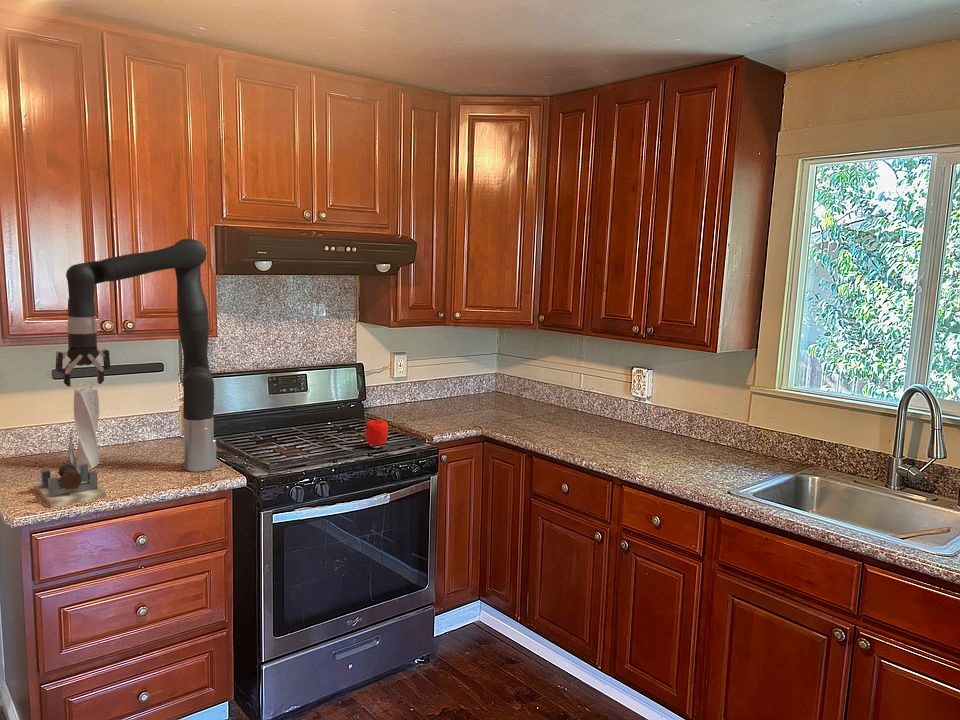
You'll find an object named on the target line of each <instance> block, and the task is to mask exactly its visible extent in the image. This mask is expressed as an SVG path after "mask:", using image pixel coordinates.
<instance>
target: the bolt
mask: <svg viewBox="0 0 960 720" xmlns="http://www.w3.org/2000/svg"><path fill="white" fill-rule="evenodd" d="M57 473H58V475H59V476H60V477H61V478H60V480H59V482H60V483H61V484H62V486H63V487H64V488H65V489H75V488H78V487H79V485H80V484H81V482H82V480H83V477H82V476H81V475H80V474H79V470H77V469H76V467H75V466H74V465H73V464H69V463H63V464H61V466H60V468H59V470H58V471H57Z"/></svg>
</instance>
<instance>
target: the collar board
mask: <svg viewBox="0 0 960 720" xmlns="http://www.w3.org/2000/svg"><path fill="white" fill-rule="evenodd" d="M81 483H85V482H81ZM58 487H61V486H58ZM33 489H34V490H35V491H36V493H38V495H39V496H40V497H41V498H42V500H43V501H44V500H45V501H44V502H45V503H46V504H47V505H48V506H49V508H55V507H63V506H69V505H72V504H73V503H74V504H78V502H79V503H83V501H85V502H89V501H88V500H90V501H93V500H92V499H96V500H99V499H98V498H101V499H103V498H102V497H106V498H107V492H106V491H105V490H104V489H103V488H101V487H100V486H99V485H98V489H96V490H90V491H84V492H78V493H73V494H67V495H61V496H55V497H50V496H49V488H45V489H43V488H42V487H41V482H36V483H33Z"/></svg>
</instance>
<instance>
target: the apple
mask: <svg viewBox="0 0 960 720" xmlns="http://www.w3.org/2000/svg"><path fill="white" fill-rule="evenodd" d="M364 430H365V431H364V432H365V433H364V434H365V438H366V441H367V444H368V445H369V444H371V445H381V444H385V445H386V443H387V440H388V435H389V423H388V422H386V420H383V419H374V420H373V419H372V420H369V421H368V422H366V425H365V429H364Z"/></svg>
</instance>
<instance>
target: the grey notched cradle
mask: <svg viewBox="0 0 960 720" xmlns="http://www.w3.org/2000/svg"><path fill="white" fill-rule="evenodd" d="M78 472H79V474H80V475H81V476H82V477H83V480H82V482H85V483H81V484H80V485H79V487H78V488H75V489H65V488H64V487H63V486H62V484H61V483H60V482H59V480H60V478H61V476H60V477H56V476H54V477H51V470H50V469H49V468H47V469H42V470H40V480H41V481H40V483H41V487H42V488H43V489H45V488H49V496H50V497H55V496H61V495H67V494H73V493H78V492H84V491H90V490H96V489H98V486H99V485H98V472H97V471H96V470H91V471H90V470H88V465H87V464H81V465H79V470H78ZM58 486H61V487H58Z"/></svg>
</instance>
